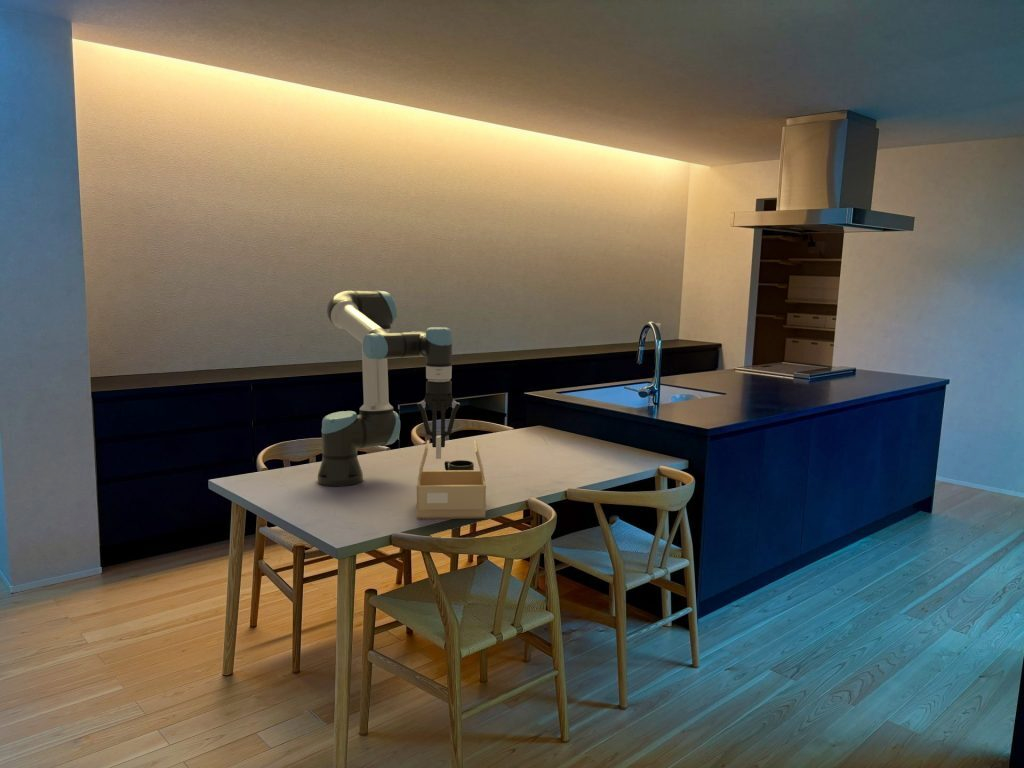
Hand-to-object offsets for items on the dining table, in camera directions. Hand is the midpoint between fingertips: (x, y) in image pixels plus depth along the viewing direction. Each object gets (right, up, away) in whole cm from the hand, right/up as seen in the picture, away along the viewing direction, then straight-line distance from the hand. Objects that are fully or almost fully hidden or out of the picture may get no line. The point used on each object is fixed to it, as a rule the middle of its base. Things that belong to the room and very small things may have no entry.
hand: (438, 457), depth 220 cm
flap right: (+13, -6, +2) cm, 15 cm away
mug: (+4, -13, +23) cm, 27 cm away
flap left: (-6, -6, 0) cm, 8 cm away
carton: (+4, -16, +3) cm, 17 cm away
